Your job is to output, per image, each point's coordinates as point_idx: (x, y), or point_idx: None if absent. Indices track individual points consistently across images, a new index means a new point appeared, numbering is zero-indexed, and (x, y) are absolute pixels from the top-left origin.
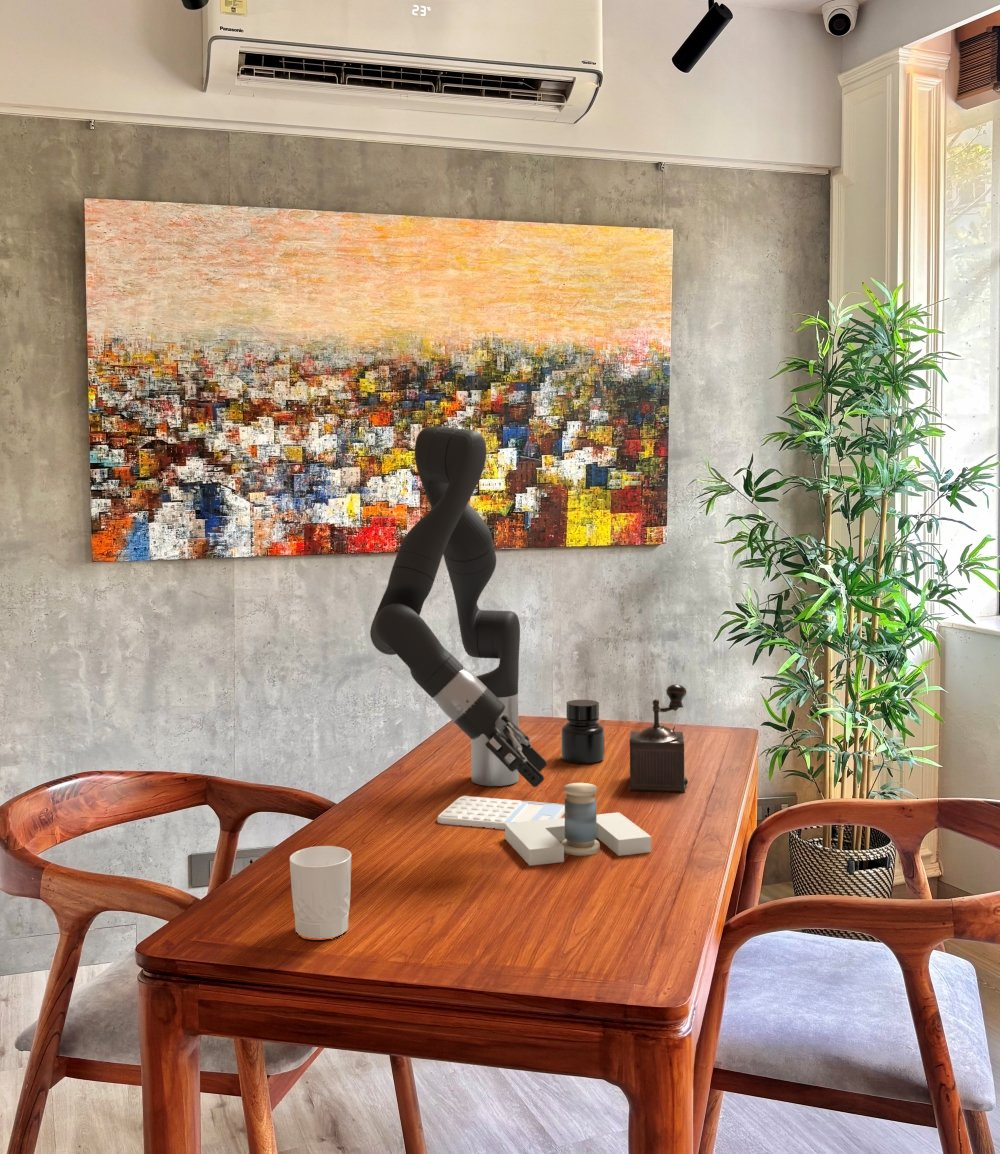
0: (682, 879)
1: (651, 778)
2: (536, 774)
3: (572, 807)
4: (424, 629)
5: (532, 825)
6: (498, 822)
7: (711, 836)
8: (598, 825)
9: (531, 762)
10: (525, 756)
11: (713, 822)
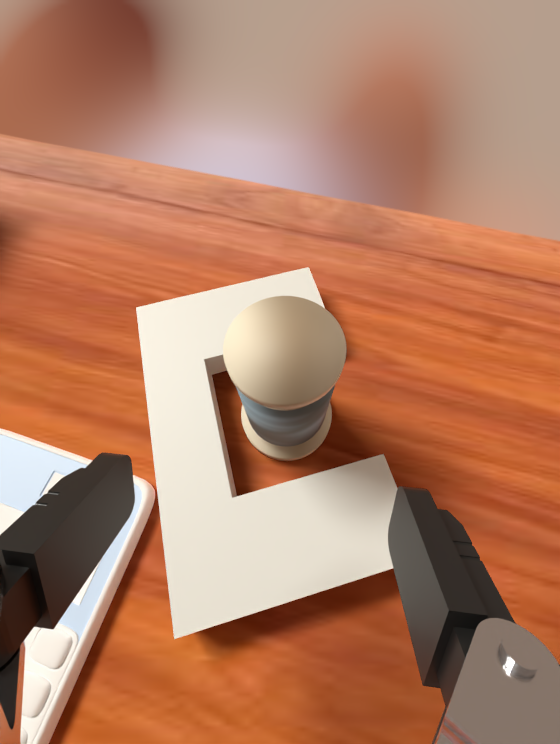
0: (443, 260)
1: None
2: (453, 533)
3: (328, 398)
4: None
5: (205, 536)
6: (77, 653)
7: (228, 198)
8: (213, 359)
9: (96, 548)
10: (59, 599)
11: (157, 186)
